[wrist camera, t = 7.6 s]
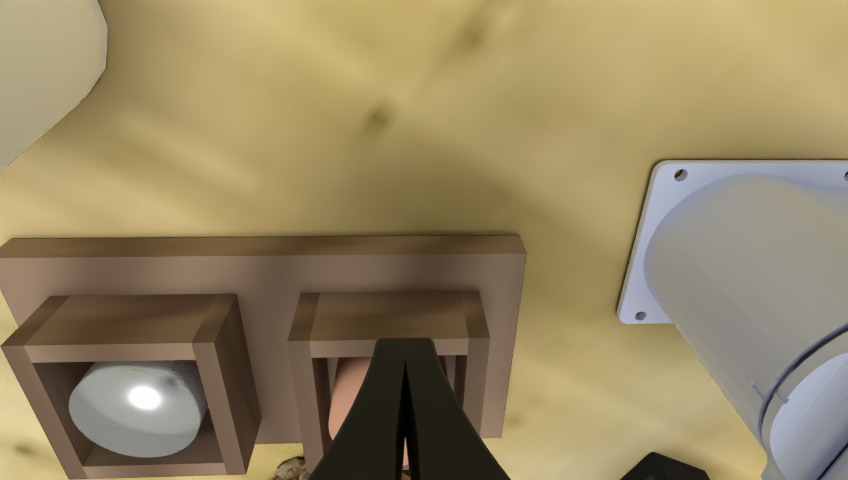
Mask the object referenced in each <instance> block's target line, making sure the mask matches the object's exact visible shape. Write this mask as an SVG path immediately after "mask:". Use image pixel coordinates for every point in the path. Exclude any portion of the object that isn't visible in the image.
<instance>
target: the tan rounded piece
mask: <svg viewBox="0 0 848 480" xmlns="http://www.w3.org/2000/svg"><path fill="white" fill-rule="evenodd" d="M438 358H439V360H440V363H441V366H442V368H443V370H444V372H445V375H446V377H447V368H446V362H445V358H444V356H443V355H438ZM371 359H372V357H339V359H338V361H337V367H336V374H335V381H334V388H333V395H332V402H331V409H330V416H329V433H330V436H331V438H332V440H333V439H334V438H335V436H336V434H337V433H338V431H339V429H340V427H341V425H342V423H343V422H344V420H345V418H346V416H347V414H348V412H349V410H350V409H351V407H352V405H353V403H354V400H355V398H356V396H357V394H358V392H359V389H360V387H361V385H362V383H363V381H364V378H365V376H366V373H367V370H368V368H369V365H370V362H371ZM447 379H448V377H447ZM404 465H408V456H407V447H406V438H405V447H404V460H403V466H404Z"/></svg>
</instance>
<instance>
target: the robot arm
mask: <svg viewBox="0 0 848 480" xmlns="http://www.w3.org/2000/svg"><path fill="white" fill-rule="evenodd" d="M681 169H683V172H682V174H681V175H680V176H678V177H675V178H674V175H675V173H676V172H677V171H678V170H681ZM847 172H848V160H666V161H662V162H660V163H658V164H657V165H656V166H655V167H654V170H653V172H652V175H651V179H650V183H649V187H648V191H647V195H646V199H645V203H644V207H643V211H642V215H641V218H640V222H639V226H638V230H637V234H636V238H635V242H634V246H633V250H632V254H631V258H630V262H629V265H628V269H627V273H626V277H625V281H624V285H623V289H622V293H621V297H620V301H619V305H618V309H617V316H618V318H619V320H620V321H621V322H622V323H624V324H662V323H673V324H674V326H675V327H676V329H677V330H678V331H679V333H680V334H681V335H682V337H683V338H684V340H685V341H686V342H687V344H688V345H689V346H690V348H691V349H692V351H693V352H694V353H695V355H696V356H697V358H698V359H699V360H700V362H701V363H702V364H703V366H704V367H705V369H706V370H707V371H708V373H709V374H710V375H711V377H712V378H713V380H714V381H715V382H716V384H717V385H718V386H719V388H720V389H721V391H722V392H723V393H724V395H725V396H726V397H727V399H728V400H729V402H730V403H731V404H732V406H733V407H734V408H735V410H736V411H737V413H738V414H739V415H740V417H741V418H742V420H743V421H744V422H745V424H746V425H747V426H748V428H749V429H750V431H751V432H752V433H753V435H754V436H755V437H756V439H757V440H758V442H759V443H760V444H761V446H762V447H763V448H764V450H765V451H766V454H767V464H766V467H765V469H764V471H763V472H762V474H761V478H762V479H763V480H848V175H846V176H845V174H846V173H847ZM844 176H845V177H844ZM638 312H642V313H641V314H639V315H636V314H637V313H638ZM405 438H406V447H407V456H408V465H409V474H410V480H511V479H510V478H509V477H508V475H507V474H506V473H505V471H504V470H503V469H502V468H501V466H500V465H499V464H498V462H497V461H496V459H495V458H494V457H493V455H492V454H491V453H490V451H489V450H488V448H487V447H486V445H485V444H484V442H483V441H482V439H481V438H480V436H479V435H478V433H477V432H476V430H475V428H474V427H473V425H472V424H471V422H470V420H469V419H468V417H467V415H466V414H465V412H464V410H463V408H462V407H461V405H460V403H459V401H458V399H457V397H456V395H455V393H454V391H453V389H452V387H451V385H450V383H449V381H448V379H447V377H446V375H445V372H444V370H443V368H442V366H441V363H440V360H439V358H438V355H437V352H436V349H435V345H434V341H433V340H432V339H430V338H380V339H379V340H378V341H376V343H375V349H374V352H373V356H372V359H371V362H370V365H369V368H368V370H367V373H366V376H365V378H364V381H363V383H362V385H361V387H360V389H359V392H358V394H357V396H356V398H355V400H354V403H353V405H352V407H351V409H350V410H349V412H348V414H347V416H346V418H345V420H344V422H343V423H342V425H341V427H340V429H339V431H338V433H337V434H336V436H335V438H334V439H333V441H332V443H331V444H330V446H329V448H328V449H327V451H326V452H325V454H324V456H323V457H322V459H321V460H320V462H319V463H318V465H317V466H316V468H315V469H314V471H313V472H312V473H311V475H310V476H309V478H308V479H307V480H402V472H403V460H404V447H405Z"/></svg>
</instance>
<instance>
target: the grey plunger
mask: <svg viewBox="0 0 848 480" xmlns="http://www.w3.org/2000/svg"><path fill="white" fill-rule="evenodd" d="M207 408H208V403H207V399H206V396H205V392H204V388H203V385H202V381H201V377H200V373H199V370H198V366H197V362H196V360H154V361H98V362H94V363H93V364H92V366H91V367H90V368H89V370H88V371H87V373H86V374H85V375H84V377H83V378H82V379H81V381H80V382H79V384H78V385H77V386H76V388H75V389H74V390H73V392H72V394H71V396H70V400H69V412H70V415H71V418H72V420H73V422H74V423H75V425H76V426H77V428H78V429H79V430H80V431H81V432H82V433H83V434H84V435H85V436H86V437H88V438H89V439H90V440H92V441H93V442H95V443H96V444H98V445H100V446H102V447H104V448H106V449H108V450H111V451H113V452H116V453H120V454H123V455H128V456H134V457H148V458H151V457H161V456H166V455H170V454H173V453H176V452H178V451H180V450H182V449H184V448H185V447H187V446H188V445H189V444H190V443H191V442H192V441H193V440H194V438H195V437H196V434H197V432H198V430H199V427H200V425H201V422H202V420H203V417H204V415H205V413H206V410H207Z"/></svg>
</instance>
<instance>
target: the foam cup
mask: <svg viewBox="0 0 848 480" xmlns="http://www.w3.org/2000/svg"><path fill="white" fill-rule="evenodd" d="M107 37H108V26H107V23H106V21H105V18H104V16H103V13H102V11H101V8H100V5H99V3H98V0H0V172H1V171H2V170H4V169H5V168H6V167H7V166H8V165H9V164H10V163H12V162H13V161H14V160H15V159H16V158H17V157H19V156H20V155H21V154H22V153H23V152H24V151H25V150H27V149H28V148H29V147H30V146H31V145H32V144H33V143H35V142H36V141H37V140H38V139H39V138H40V137H42V136H43V135H44V134H45V133H46V132H47V131H48V130H50V129H51V128H52V127H53V126H54V125H55V124H57V123H58V122H59V121H60V120H61V119H62V118H63V117H65V116H66V115H67V114H68V113H69V112H70V111H71V110H73V109H74V108H75V107H76V106H77V105H78V104H79V103H80V101H81V100H82V99H83V98H85V97H86V96H87V95H88V94H89V92H90V91H91V89H92V88H93V86H94V85H95V83H96V82H97V80H98V79H99V78H100V76H101V75H102V73H103V72H104V70H105V69H106V57H107Z"/></svg>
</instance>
